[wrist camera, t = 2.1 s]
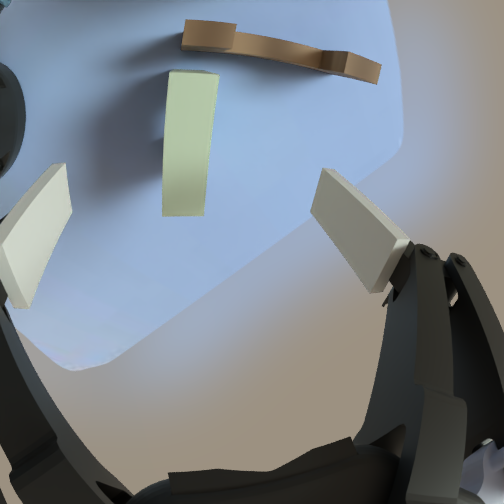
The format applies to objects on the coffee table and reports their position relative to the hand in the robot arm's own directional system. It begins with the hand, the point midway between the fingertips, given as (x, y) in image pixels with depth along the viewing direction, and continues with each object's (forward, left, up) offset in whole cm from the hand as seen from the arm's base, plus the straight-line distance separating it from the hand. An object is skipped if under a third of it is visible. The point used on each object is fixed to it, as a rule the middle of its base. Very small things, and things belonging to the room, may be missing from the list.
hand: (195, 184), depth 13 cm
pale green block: (0, 0, -16) cm, 16 cm away
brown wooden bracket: (+7, +8, -16) cm, 19 cm away
